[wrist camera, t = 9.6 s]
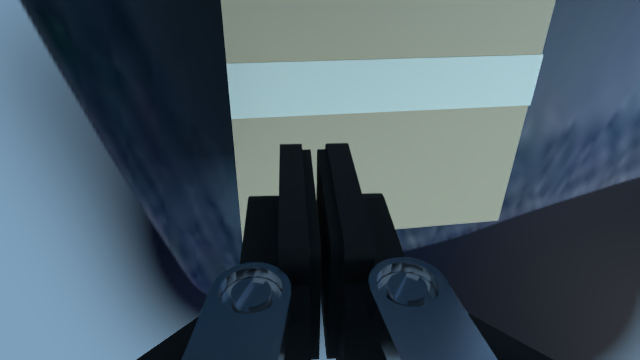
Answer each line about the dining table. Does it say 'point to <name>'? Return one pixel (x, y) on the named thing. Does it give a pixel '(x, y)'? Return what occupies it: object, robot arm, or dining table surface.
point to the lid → (387, 96)
